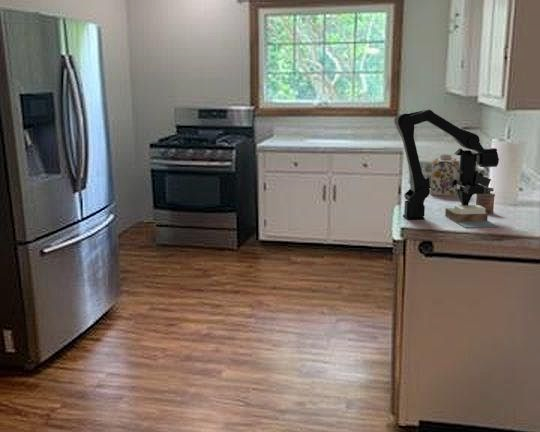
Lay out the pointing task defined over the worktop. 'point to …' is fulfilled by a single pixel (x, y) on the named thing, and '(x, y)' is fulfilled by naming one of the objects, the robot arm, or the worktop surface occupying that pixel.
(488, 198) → the lighter
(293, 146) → the worktop surface
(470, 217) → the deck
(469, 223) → the mat
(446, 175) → the decorative jar
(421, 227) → the worktop surface
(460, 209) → the rectangular block
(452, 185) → the robot arm
